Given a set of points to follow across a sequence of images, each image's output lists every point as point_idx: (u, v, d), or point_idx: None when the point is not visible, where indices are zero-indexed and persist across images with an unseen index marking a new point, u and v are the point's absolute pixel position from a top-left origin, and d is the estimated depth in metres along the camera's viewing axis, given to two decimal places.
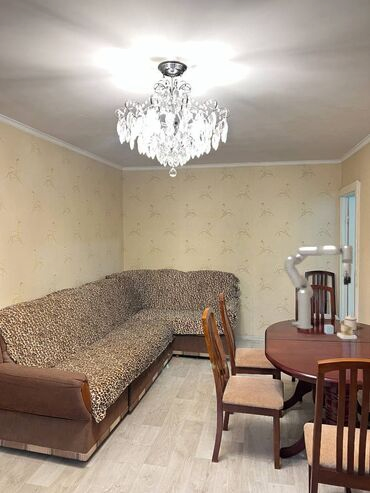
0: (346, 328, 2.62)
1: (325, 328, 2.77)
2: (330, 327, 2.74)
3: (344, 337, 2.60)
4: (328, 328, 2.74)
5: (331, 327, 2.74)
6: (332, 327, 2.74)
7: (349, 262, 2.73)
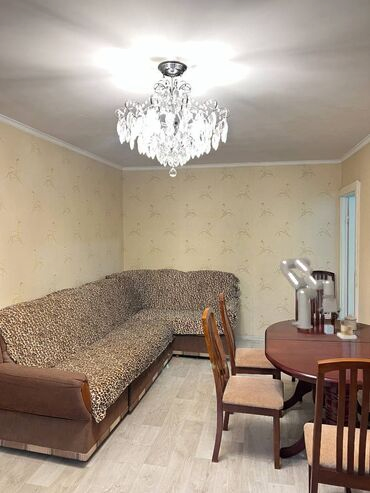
0: (346, 328, 2.62)
1: (325, 328, 2.77)
2: (330, 327, 2.74)
3: (344, 337, 2.60)
4: (328, 328, 2.74)
5: (331, 327, 2.74)
6: (332, 327, 2.74)
7: None
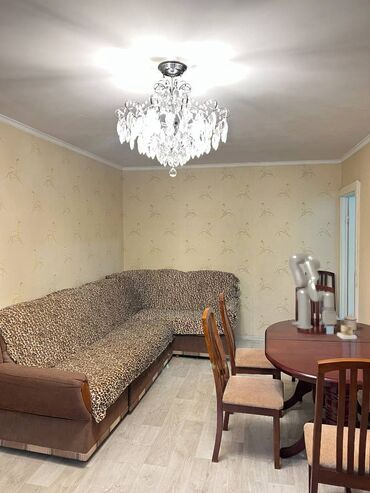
0: (346, 328, 2.62)
1: None
2: (330, 327, 2.74)
3: (344, 337, 2.60)
4: (328, 328, 2.74)
5: (331, 327, 2.74)
6: (332, 327, 2.74)
7: None
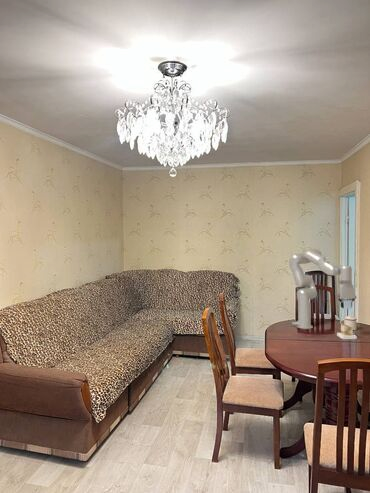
0: (346, 328, 2.62)
1: None
2: (348, 302, 2.62)
3: (344, 337, 2.60)
4: (346, 302, 2.62)
5: (349, 301, 2.62)
6: (350, 301, 2.62)
7: None
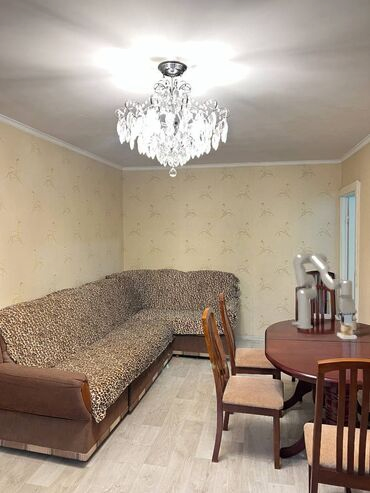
0: (346, 328, 2.62)
1: None
2: (348, 316, 2.62)
3: (344, 337, 2.60)
4: (346, 317, 2.62)
5: (349, 315, 2.62)
6: (350, 316, 2.62)
7: None
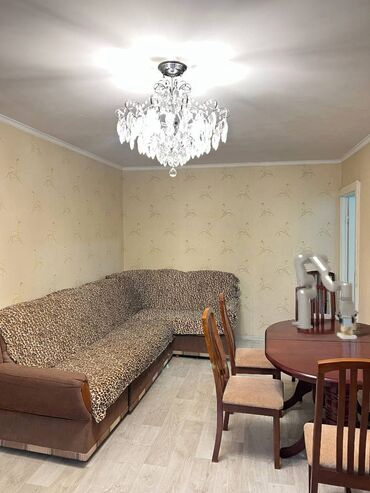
0: (346, 328, 2.62)
1: (342, 321, 2.65)
2: (348, 320, 2.62)
3: (344, 337, 2.60)
4: (346, 321, 2.62)
5: (349, 319, 2.62)
6: (350, 320, 2.62)
7: None
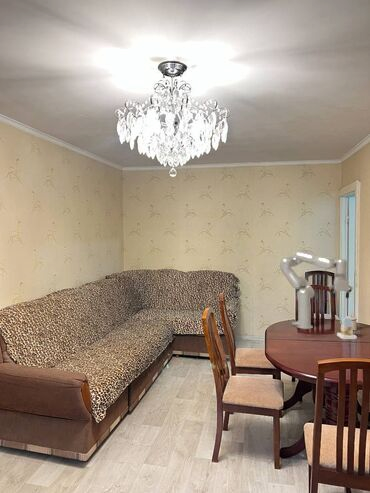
0: (346, 328, 2.62)
1: (342, 321, 2.65)
2: (348, 320, 2.62)
3: (344, 337, 2.60)
4: (346, 321, 2.62)
5: (349, 319, 2.62)
6: (350, 320, 2.62)
7: None
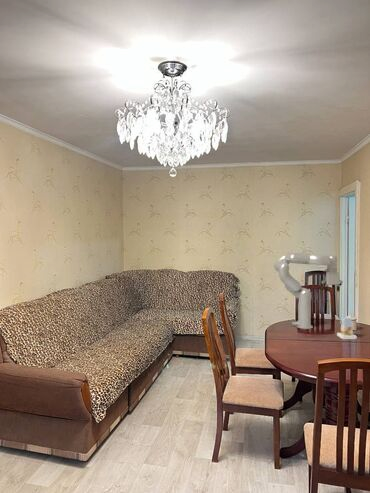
0: (346, 328, 2.62)
1: (342, 321, 2.65)
2: (348, 320, 2.62)
3: (344, 337, 2.60)
4: (346, 321, 2.62)
5: (349, 319, 2.62)
6: (350, 320, 2.62)
7: None
